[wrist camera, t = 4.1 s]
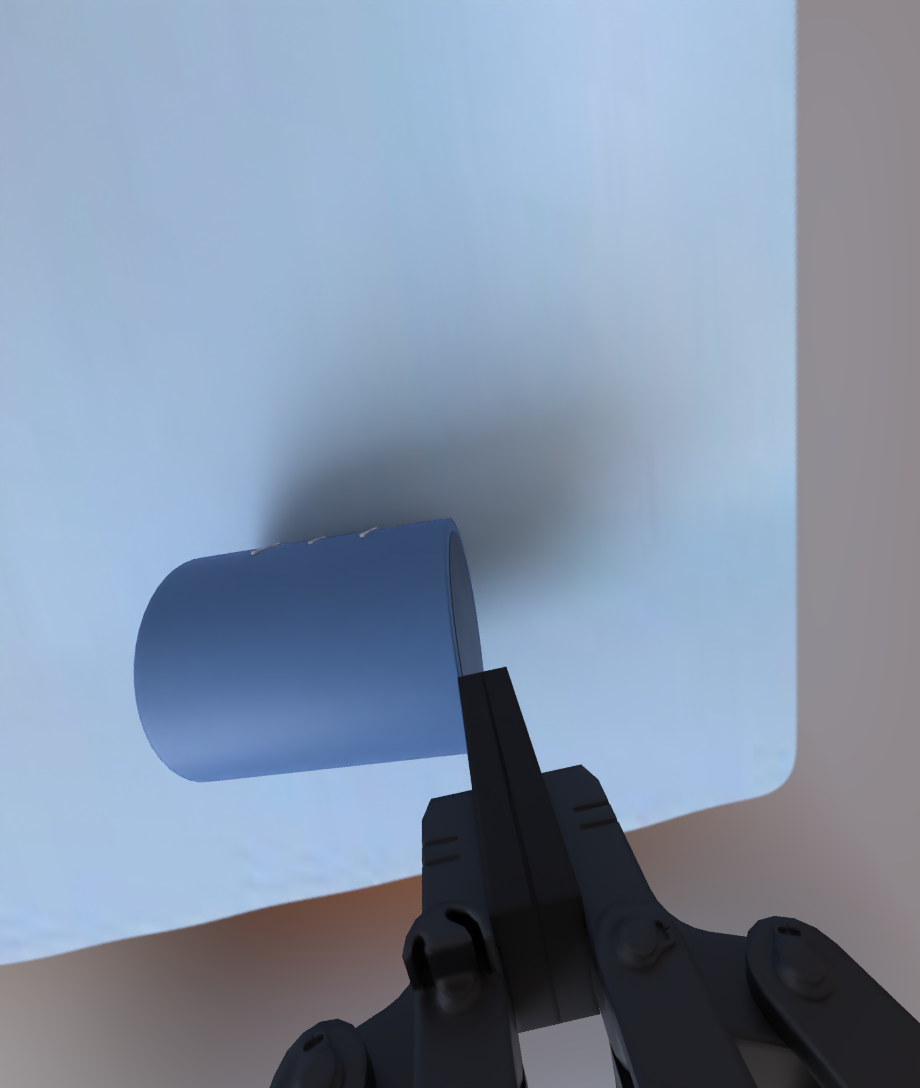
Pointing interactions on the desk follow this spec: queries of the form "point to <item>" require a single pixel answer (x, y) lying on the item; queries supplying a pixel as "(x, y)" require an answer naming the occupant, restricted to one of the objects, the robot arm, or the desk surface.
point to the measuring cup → (310, 655)
